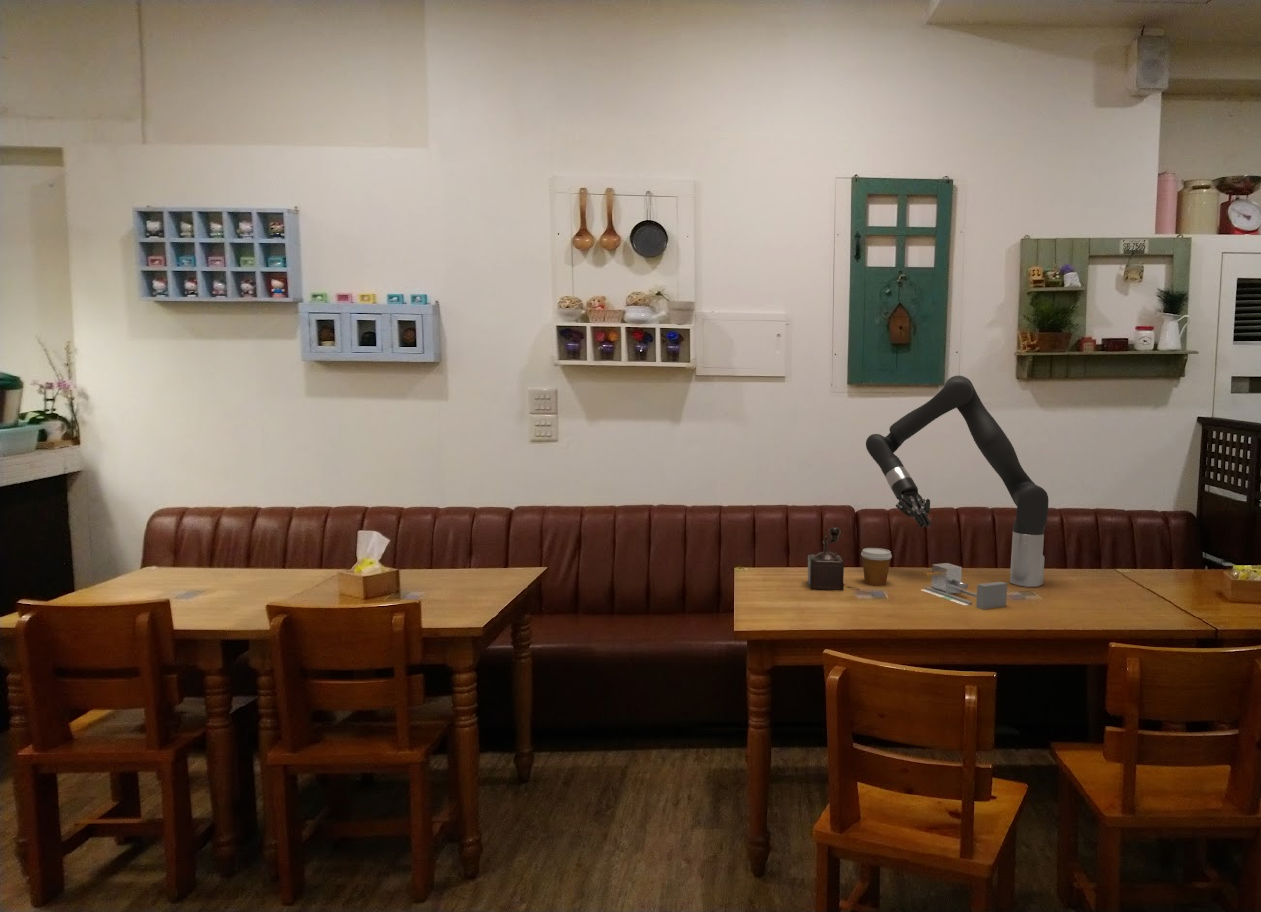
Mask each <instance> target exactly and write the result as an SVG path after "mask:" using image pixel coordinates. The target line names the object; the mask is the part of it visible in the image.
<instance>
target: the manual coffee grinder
mask: <svg viewBox="0 0 1261 912" xmlns="http://www.w3.org/2000/svg"><path fill="white" fill-rule="evenodd" d="M841 533H842V532H841V529H840V528H839V527H835V526H833V527H831V528H829V529H828V534H829V535H830V540H829V537H828V535H825V536H823V541H822V544H824V545H823V547H824V550H823V551H821V552H818V553H817V554H808V555H807V585H808V587H809V588H811V589H815V590H814V591H833V590H843V591H844V574H845V573H844V569H845V563H844V561H843V559H842V557H841V555H839V554H837V553H838V552H837V551H836V552H835V553H834V552H832V551H828V544H831V543H834V544H835V543H837V542H838V541H840V540H839V536H840V534H841ZM811 589H810V590H811Z"/></svg>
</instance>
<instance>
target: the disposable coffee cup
mask: <svg viewBox="0 0 1261 912" xmlns="http://www.w3.org/2000/svg"><path fill="white" fill-rule="evenodd" d="M891 552H892V551H890V550H889V549H886V548H881V547H879V548H878V547H866V548H863V549H862V551H861V553H860V554H861V555H860V556H861V558H862V567H863V579H864V583H865V584H867V585H869V586H886V585H887V580H888V574H889V569H890V563H891V562H890V561H891V559H892V558H893V555H892V553H891Z"/></svg>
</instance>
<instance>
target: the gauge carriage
mask: <svg viewBox="0 0 1261 912" xmlns="http://www.w3.org/2000/svg"><path fill="white" fill-rule="evenodd" d="M962 569H963V566H959V565H956V564H952V563H948V562H945V563H944V562H943V563H935V564H934V563H933V564H932V567H931V572H926V573H925V576H927V577H928V576H931V586H930V588H932V589H935V590H938V591H941V592H944V593H947V594H950V595H953V594H961V593H962V592H961V589H963V590H967V589H968V588H969V584H967V583H965V582H963V581H962Z"/></svg>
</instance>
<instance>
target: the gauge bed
mask: <svg viewBox="0 0 1261 912" xmlns="http://www.w3.org/2000/svg"><path fill="white" fill-rule="evenodd" d="M976 585H977V586H976V593H974V592H971V591H968V590H967V589H964V588H961V593H962V594H965V595H968V596H971V597H975V598H976V603H975V604H976V605H975V607H976V608H978V609H981V610H988V609H993V608H995V609H996V608H1001V607H1002V608H1003V607H1007V597H1008V596H1007V595H1008V582H1003V581H995V582H993V581H992V582H987V583H977V584H976ZM924 588H925V589H921V591H922V592H925V593H928V594H930V595H933V596H936V597H939V598H941V599H945V600H947V601H951V602H953V603H957V604H958V605H962V606H969V605H970V606H971V605H972V604H973V602H972V601H970V600H967V599H966V598H965V599H964V598H961V597H958V596H955V595H953V594H947V593H944V592H941V591H938V590H935V589H932V588H931V586H930V587H929V586H925V587H924Z"/></svg>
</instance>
